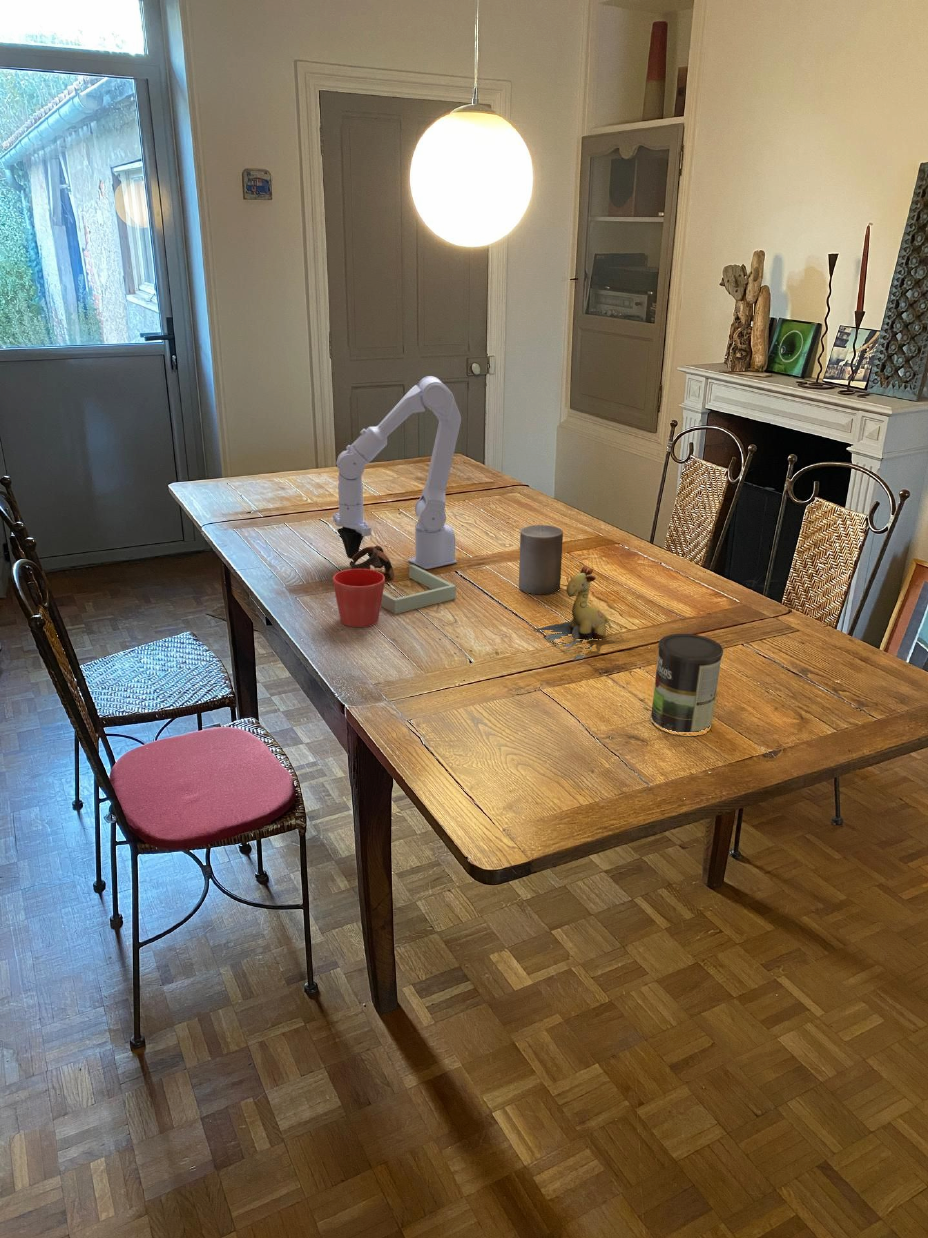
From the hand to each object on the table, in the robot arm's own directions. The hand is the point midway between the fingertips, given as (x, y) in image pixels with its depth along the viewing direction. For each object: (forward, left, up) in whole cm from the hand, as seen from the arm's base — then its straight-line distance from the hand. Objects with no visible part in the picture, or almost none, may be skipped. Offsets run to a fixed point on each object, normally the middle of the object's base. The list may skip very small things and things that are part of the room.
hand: (352, 557), depth 226 cm
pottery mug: (-1, +9, -2) cm, 9 cm away
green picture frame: (0, +23, -2) cm, 23 cm away
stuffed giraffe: (-18, +64, -3) cm, 67 cm away
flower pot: (+16, +30, -2) cm, 34 cm away
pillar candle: (-28, +36, -2) cm, 46 cm away
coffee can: (-6, +98, -2) cm, 98 cm away
